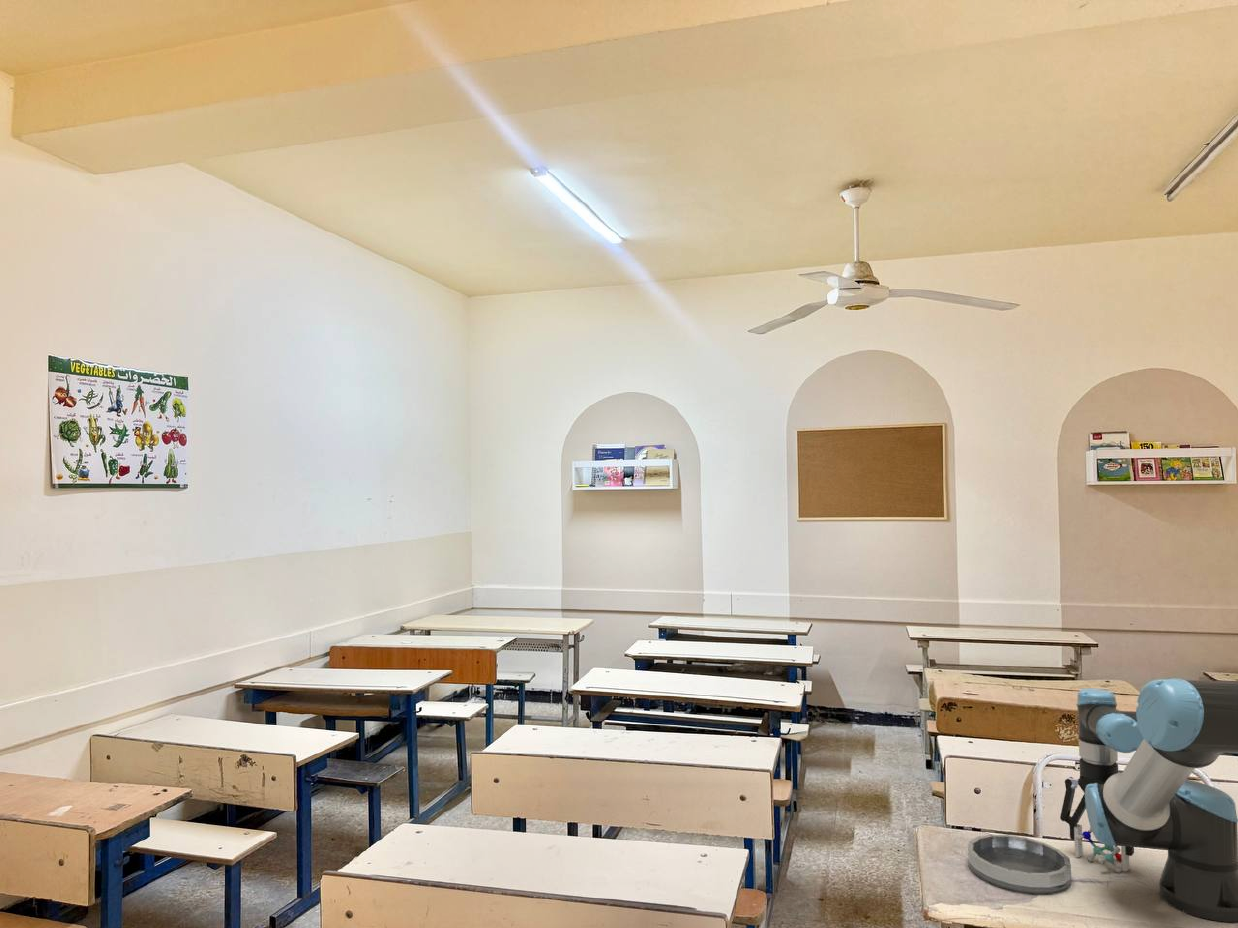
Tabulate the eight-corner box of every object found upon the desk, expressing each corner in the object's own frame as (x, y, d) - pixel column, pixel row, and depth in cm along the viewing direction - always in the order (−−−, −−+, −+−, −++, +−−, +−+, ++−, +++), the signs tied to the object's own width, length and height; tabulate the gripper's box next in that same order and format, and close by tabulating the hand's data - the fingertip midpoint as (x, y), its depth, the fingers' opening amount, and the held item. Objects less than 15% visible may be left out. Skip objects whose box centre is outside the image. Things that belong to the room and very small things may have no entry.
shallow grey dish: (1084, 872, 176) (1084, 854, 176) (1050, 904, 163) (1049, 884, 163) (991, 844, 191) (991, 827, 191) (952, 871, 178) (952, 852, 178)
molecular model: (1146, 863, 173) (1115, 816, 178) (1104, 881, 174) (1074, 835, 179) (1135, 857, 183) (1106, 813, 188) (1096, 875, 185) (1067, 831, 189)
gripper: (1158, 767, 177) (1162, 872, 176) (1053, 745, 192) (1056, 842, 191) (1148, 775, 171) (1152, 883, 171) (1041, 752, 187) (1044, 851, 186)
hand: (1101, 861), depth 181 cm, fingers open, 9 cm apart
